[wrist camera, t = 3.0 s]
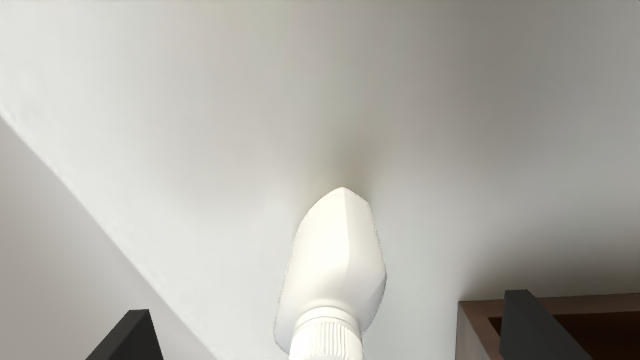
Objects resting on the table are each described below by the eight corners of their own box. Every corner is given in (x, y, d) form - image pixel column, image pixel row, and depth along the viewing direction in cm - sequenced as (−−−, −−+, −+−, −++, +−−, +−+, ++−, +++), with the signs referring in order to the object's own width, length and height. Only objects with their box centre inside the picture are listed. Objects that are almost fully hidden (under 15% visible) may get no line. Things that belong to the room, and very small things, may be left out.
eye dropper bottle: (386, 237, 20) (458, 458, 8) (305, 271, 21) (271, 510, 9) (356, 177, 18) (393, 336, 7) (273, 215, 19) (187, 409, 8)
